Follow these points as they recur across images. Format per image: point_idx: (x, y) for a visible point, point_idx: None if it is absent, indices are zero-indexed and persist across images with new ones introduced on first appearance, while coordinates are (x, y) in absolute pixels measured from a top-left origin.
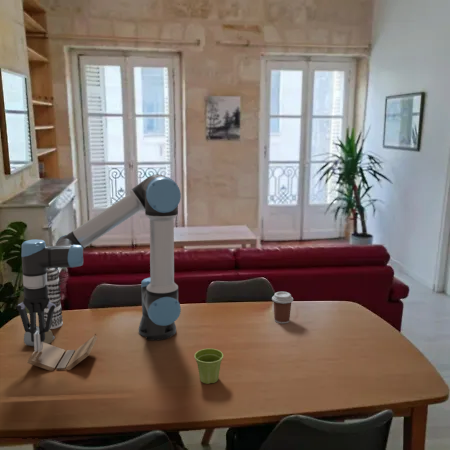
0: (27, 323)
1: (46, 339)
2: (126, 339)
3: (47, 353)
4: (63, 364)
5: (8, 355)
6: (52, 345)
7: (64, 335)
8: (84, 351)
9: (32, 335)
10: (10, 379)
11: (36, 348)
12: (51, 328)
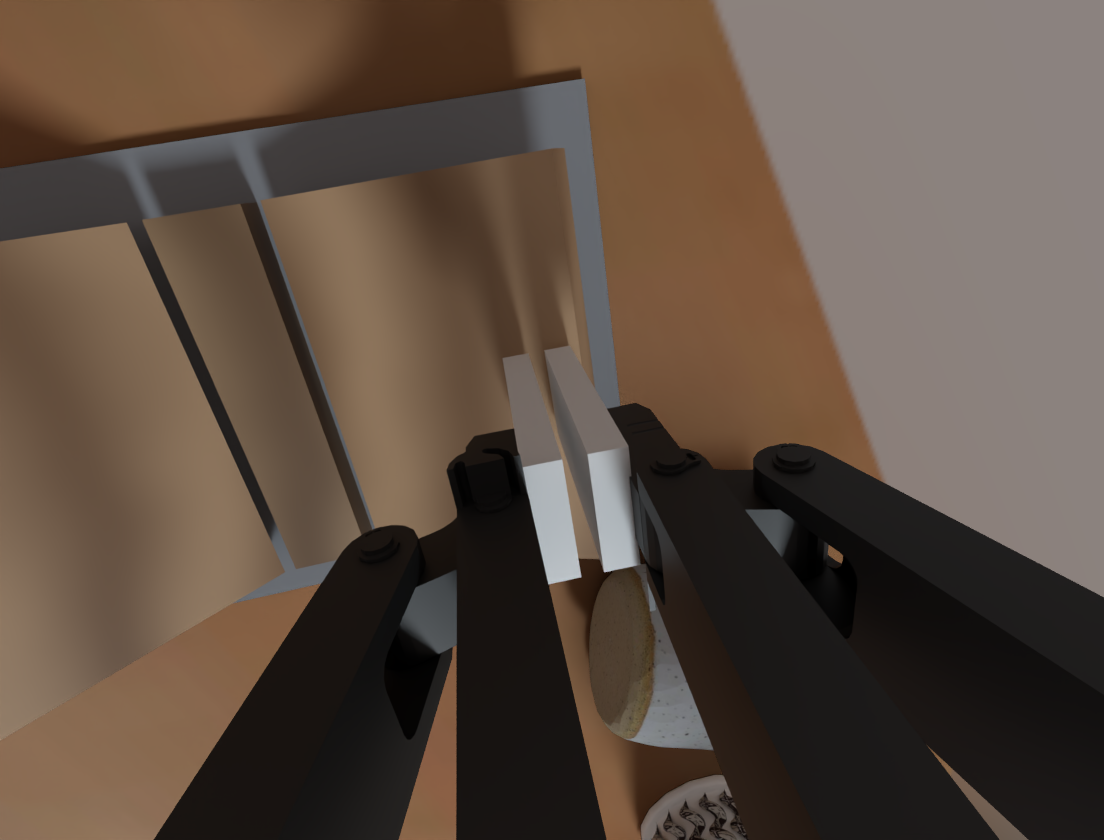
0: (871, 593)
1: (614, 636)
2: (30, 809)
3: (459, 408)
4: (213, 294)
5: (838, 438)
6: None
7: None
8: None
9: (653, 449)
10: (664, 26)
11: (552, 363)
12: (687, 786)
